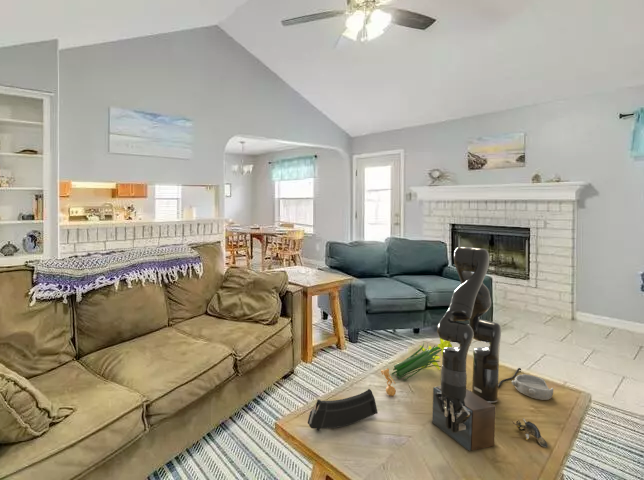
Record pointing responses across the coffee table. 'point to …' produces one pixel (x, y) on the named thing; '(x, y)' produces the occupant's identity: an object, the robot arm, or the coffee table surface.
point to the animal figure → (531, 431)
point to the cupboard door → (439, 420)
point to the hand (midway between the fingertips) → (451, 429)
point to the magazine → (342, 411)
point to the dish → (532, 387)
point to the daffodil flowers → (420, 360)
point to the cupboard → (480, 420)
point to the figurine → (389, 389)
